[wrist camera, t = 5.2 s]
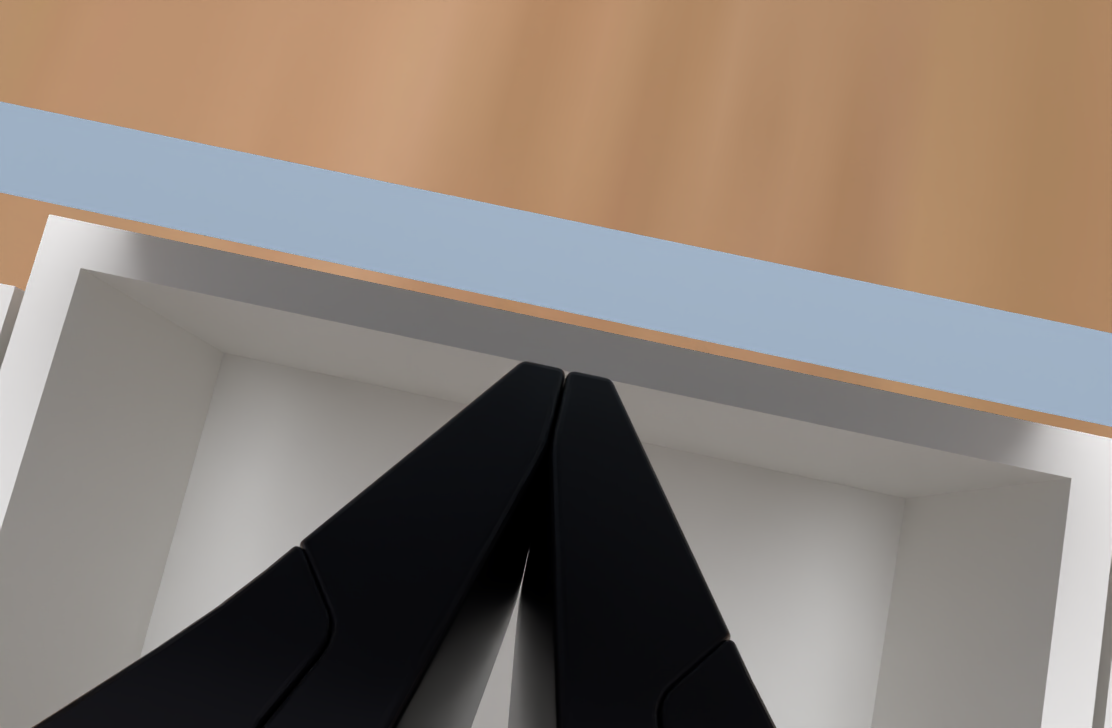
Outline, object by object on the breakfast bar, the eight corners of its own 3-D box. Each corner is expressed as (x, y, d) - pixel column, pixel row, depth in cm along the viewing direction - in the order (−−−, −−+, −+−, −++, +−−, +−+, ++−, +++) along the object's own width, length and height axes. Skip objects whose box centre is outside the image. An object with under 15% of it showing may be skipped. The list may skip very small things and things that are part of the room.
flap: (1062, 394, 12) (1646, 540, 6) (121, 196, 13) (-453, 97, 6) (1072, 355, 12) (1675, 449, 5) (126, 158, 13) (-442, 8, 6)
